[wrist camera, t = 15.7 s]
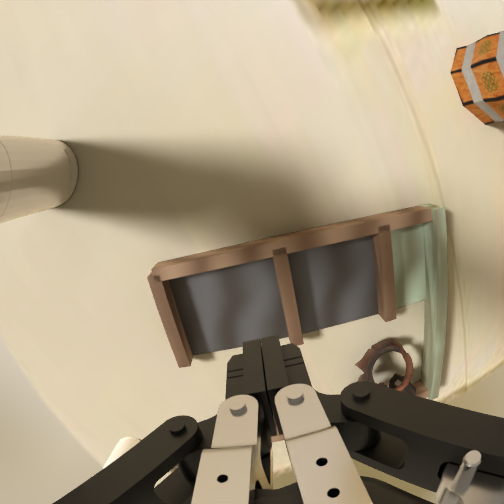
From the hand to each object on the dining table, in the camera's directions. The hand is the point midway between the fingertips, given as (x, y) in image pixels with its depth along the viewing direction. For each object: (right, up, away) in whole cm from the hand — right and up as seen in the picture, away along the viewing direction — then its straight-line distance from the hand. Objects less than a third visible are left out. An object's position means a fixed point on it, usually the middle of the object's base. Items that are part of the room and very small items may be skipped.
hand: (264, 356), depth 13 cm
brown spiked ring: (+19, -13, +32) cm, 40 cm away
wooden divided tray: (+9, -8, +30) cm, 32 cm away
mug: (+38, +30, +22) cm, 53 cm away
